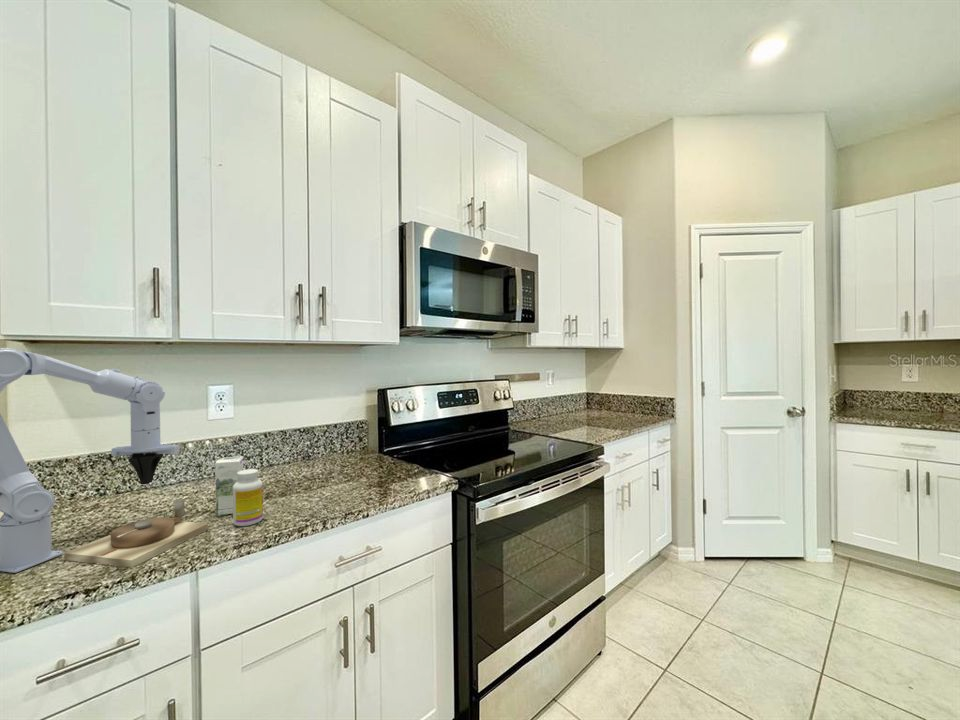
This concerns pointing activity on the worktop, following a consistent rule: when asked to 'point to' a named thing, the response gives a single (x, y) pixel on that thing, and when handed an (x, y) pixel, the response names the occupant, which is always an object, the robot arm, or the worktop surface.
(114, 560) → the wooden cutting board
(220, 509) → the syrup box
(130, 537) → the crank dial
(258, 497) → the supplement bottle
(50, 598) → the worktop surface
